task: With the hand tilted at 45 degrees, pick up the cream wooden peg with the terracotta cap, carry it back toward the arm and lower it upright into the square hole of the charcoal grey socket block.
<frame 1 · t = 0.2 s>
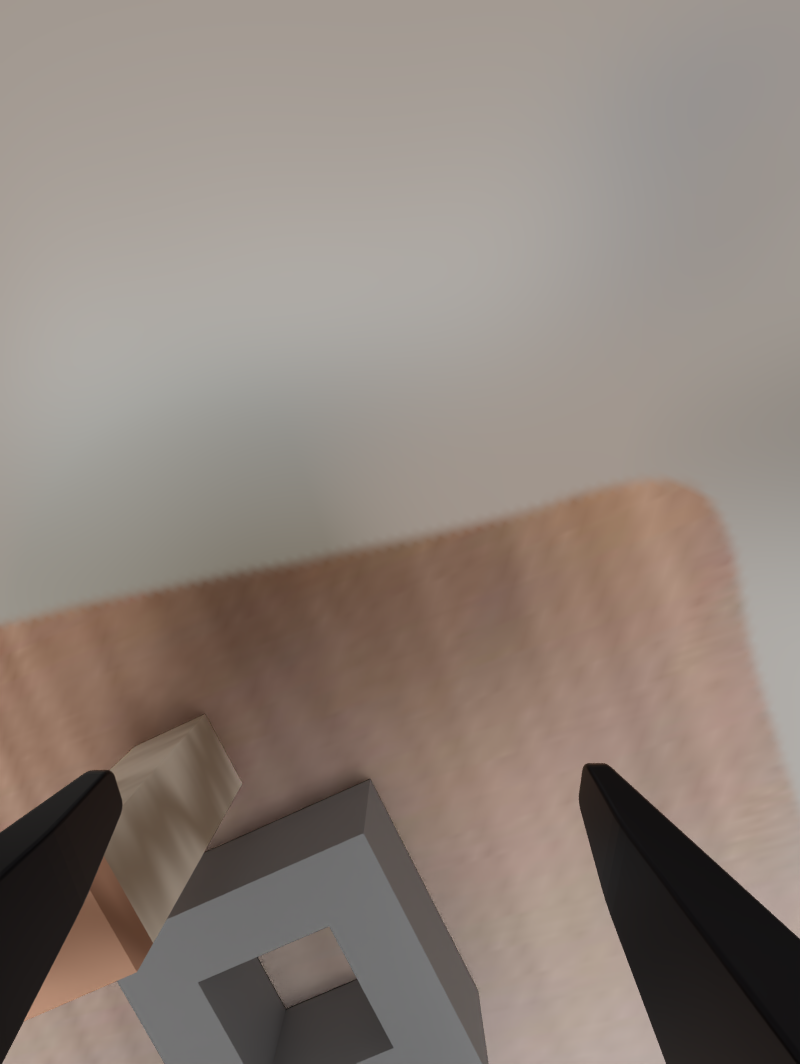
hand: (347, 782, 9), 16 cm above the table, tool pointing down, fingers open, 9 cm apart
socket block: (312, 935, 26), on the table
peg: (188, 765, 25), on the table
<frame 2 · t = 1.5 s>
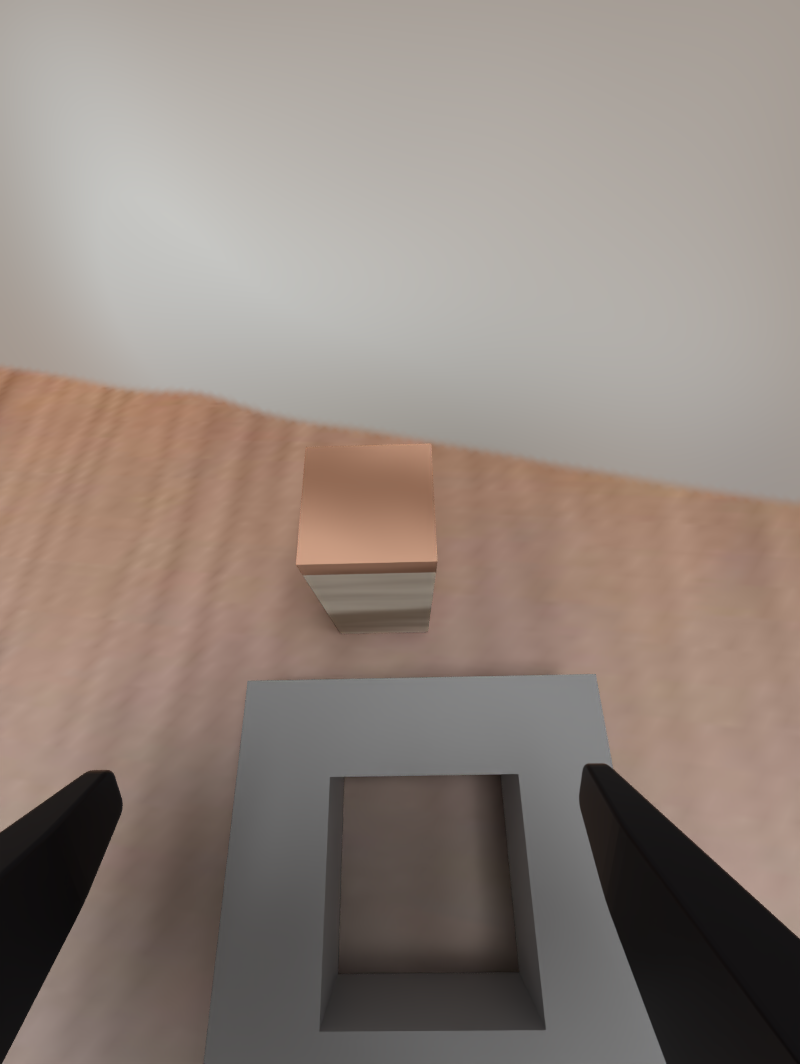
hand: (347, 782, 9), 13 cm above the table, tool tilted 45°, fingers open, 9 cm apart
socket block: (424, 864, 19), on the table
peg: (384, 591, 24), on the table
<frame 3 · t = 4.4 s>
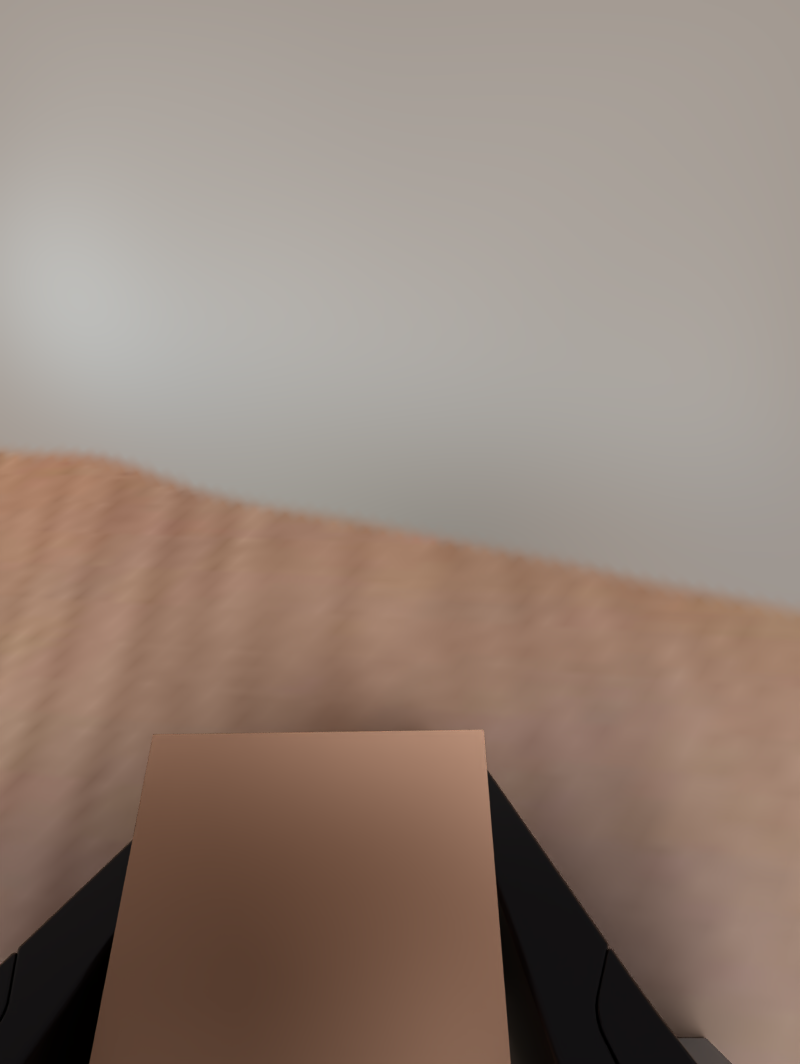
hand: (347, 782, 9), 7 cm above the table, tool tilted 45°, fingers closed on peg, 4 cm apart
peg: (373, 819, 14), on the table, touching gripper
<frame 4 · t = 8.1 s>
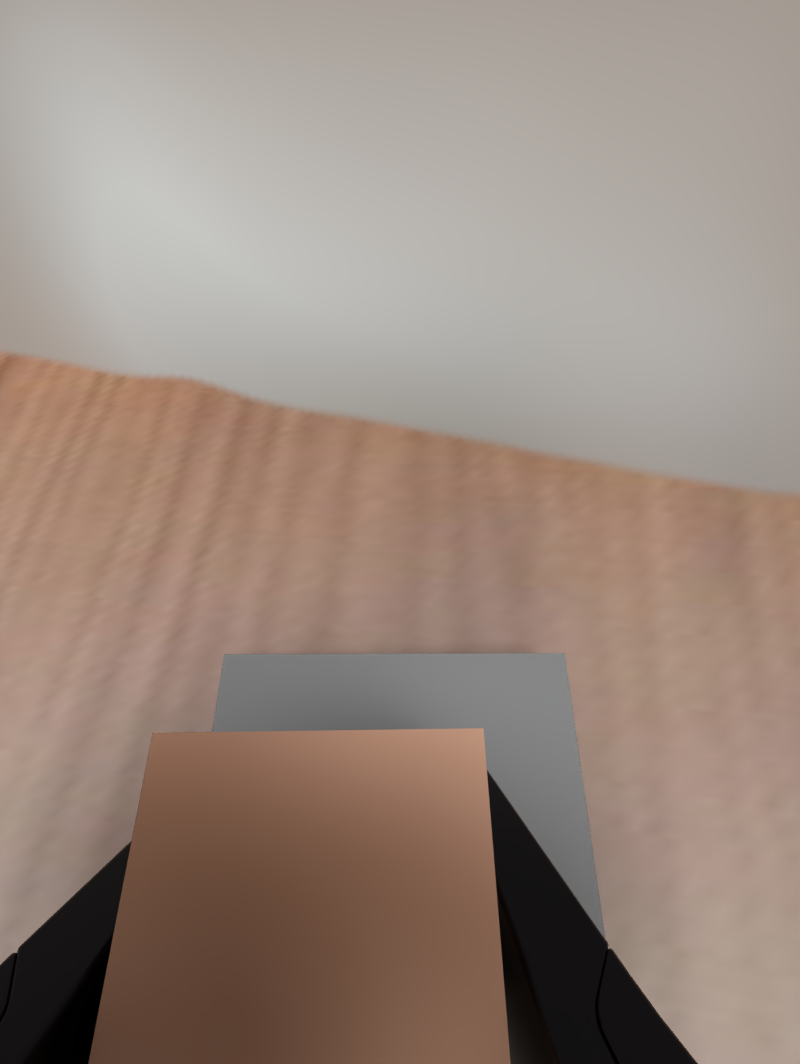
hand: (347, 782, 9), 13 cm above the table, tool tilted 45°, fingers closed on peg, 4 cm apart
socket block: (395, 837, 20), on the table
peg: (373, 819, 14), point 7 cm above the table, touching gripper
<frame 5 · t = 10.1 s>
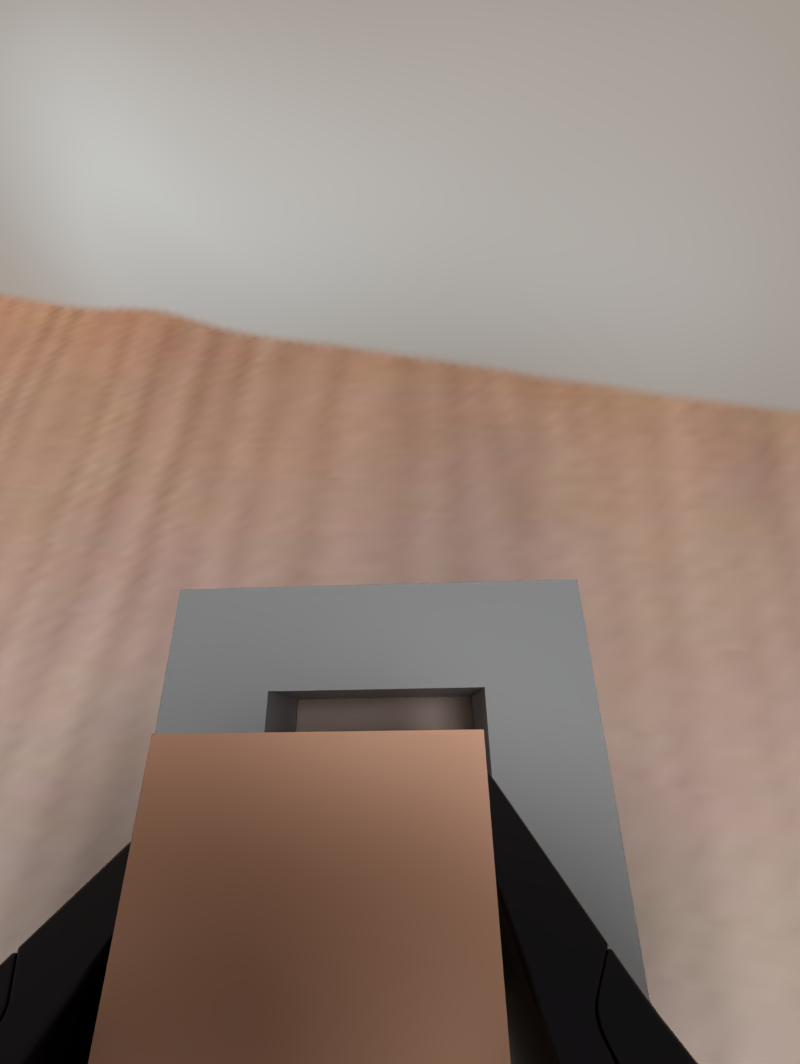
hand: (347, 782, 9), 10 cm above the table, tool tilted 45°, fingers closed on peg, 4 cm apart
socket block: (384, 797, 17), on the table
peg: (373, 819, 14), point 3 cm above the table, touching gripper
when the fingers open (7 cm above the table, at t = 11.8 s): peg stays where it is, resting in socket block.
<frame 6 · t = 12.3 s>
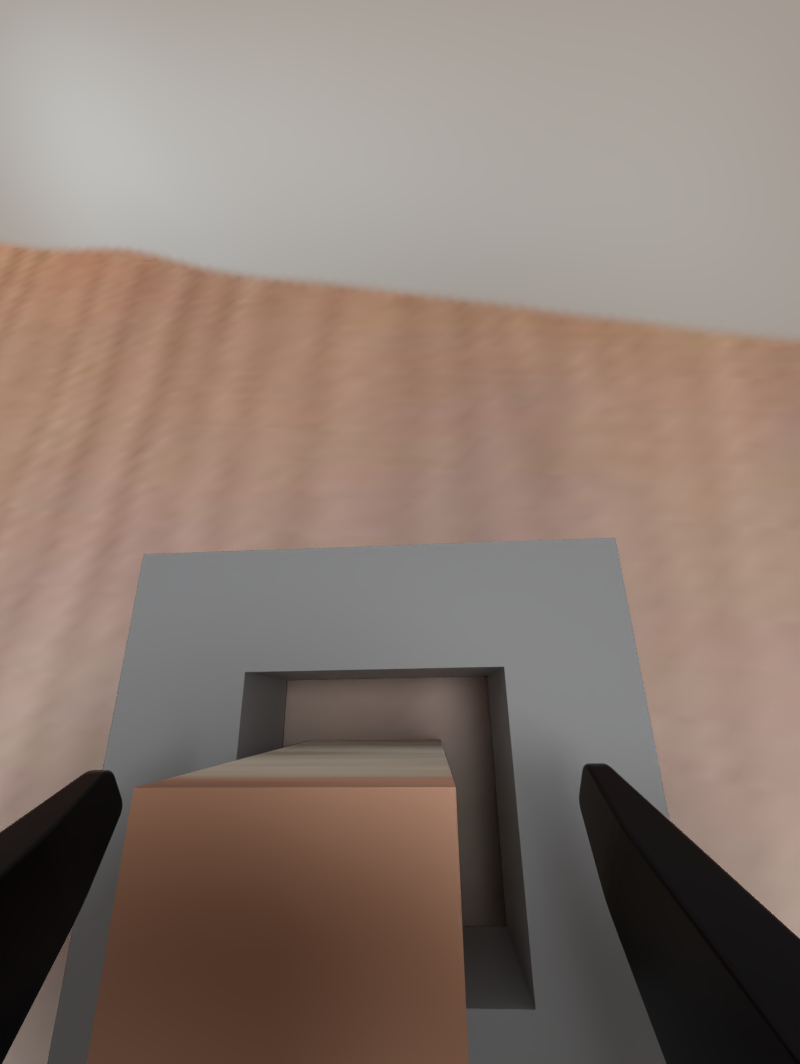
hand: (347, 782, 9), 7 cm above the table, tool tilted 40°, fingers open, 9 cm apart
socket block: (386, 791, 15), on the table
peg: (373, 815, 15), resting in socket block
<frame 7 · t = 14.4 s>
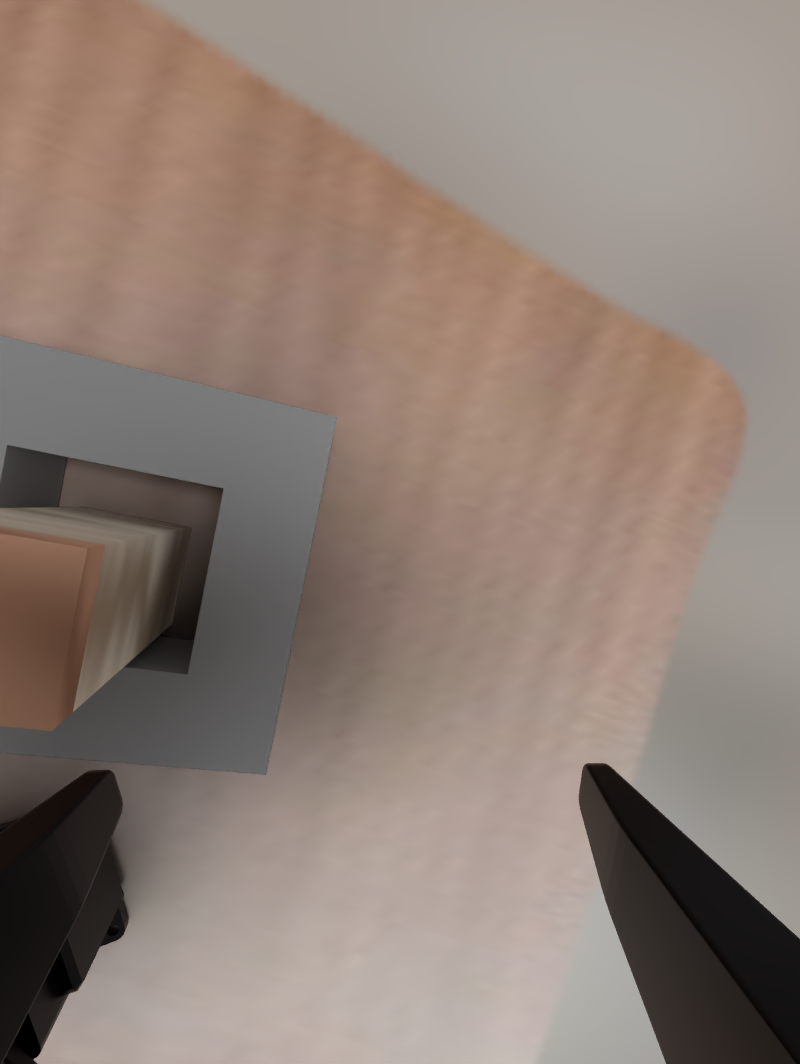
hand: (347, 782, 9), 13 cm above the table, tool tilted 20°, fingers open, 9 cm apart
socket block: (141, 553, 20), on the table
peg: (128, 566, 20), resting in socket block
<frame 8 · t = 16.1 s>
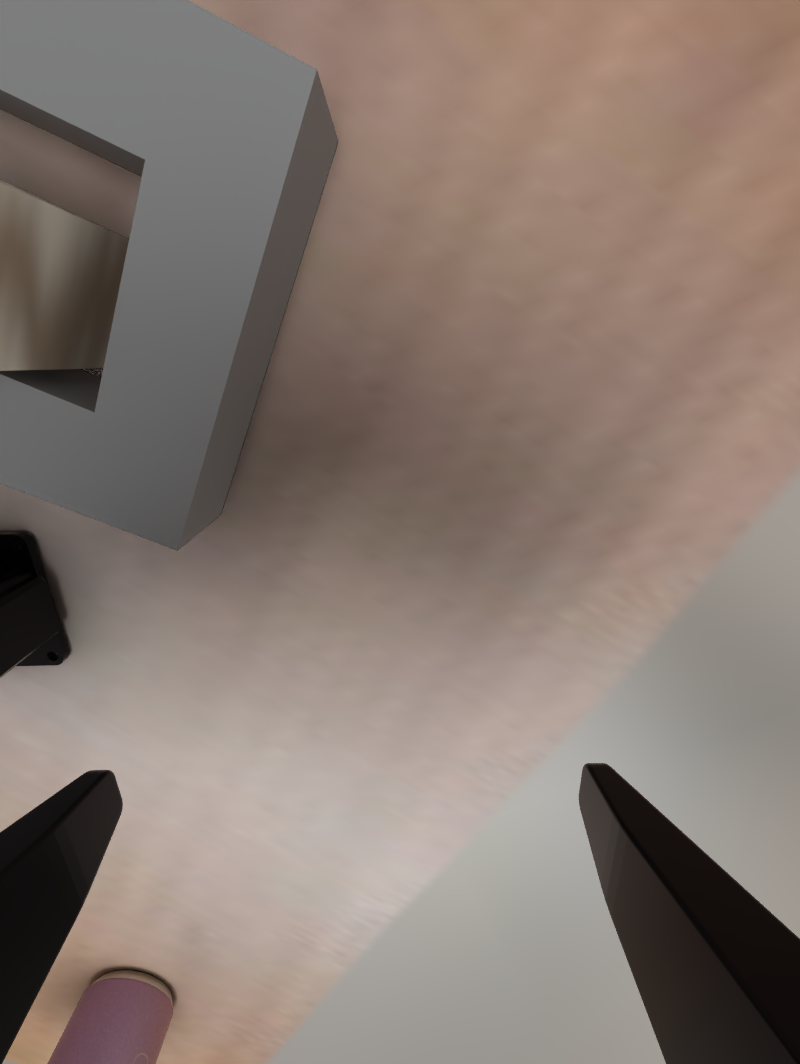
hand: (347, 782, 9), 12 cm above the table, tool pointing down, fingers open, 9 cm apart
socket block: (84, 268, 17), on the table
peg: (70, 282, 17), resting in socket block
beverage can: (134, 989, 32), on the table
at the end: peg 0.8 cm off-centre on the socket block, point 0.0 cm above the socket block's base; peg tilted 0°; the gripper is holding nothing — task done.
